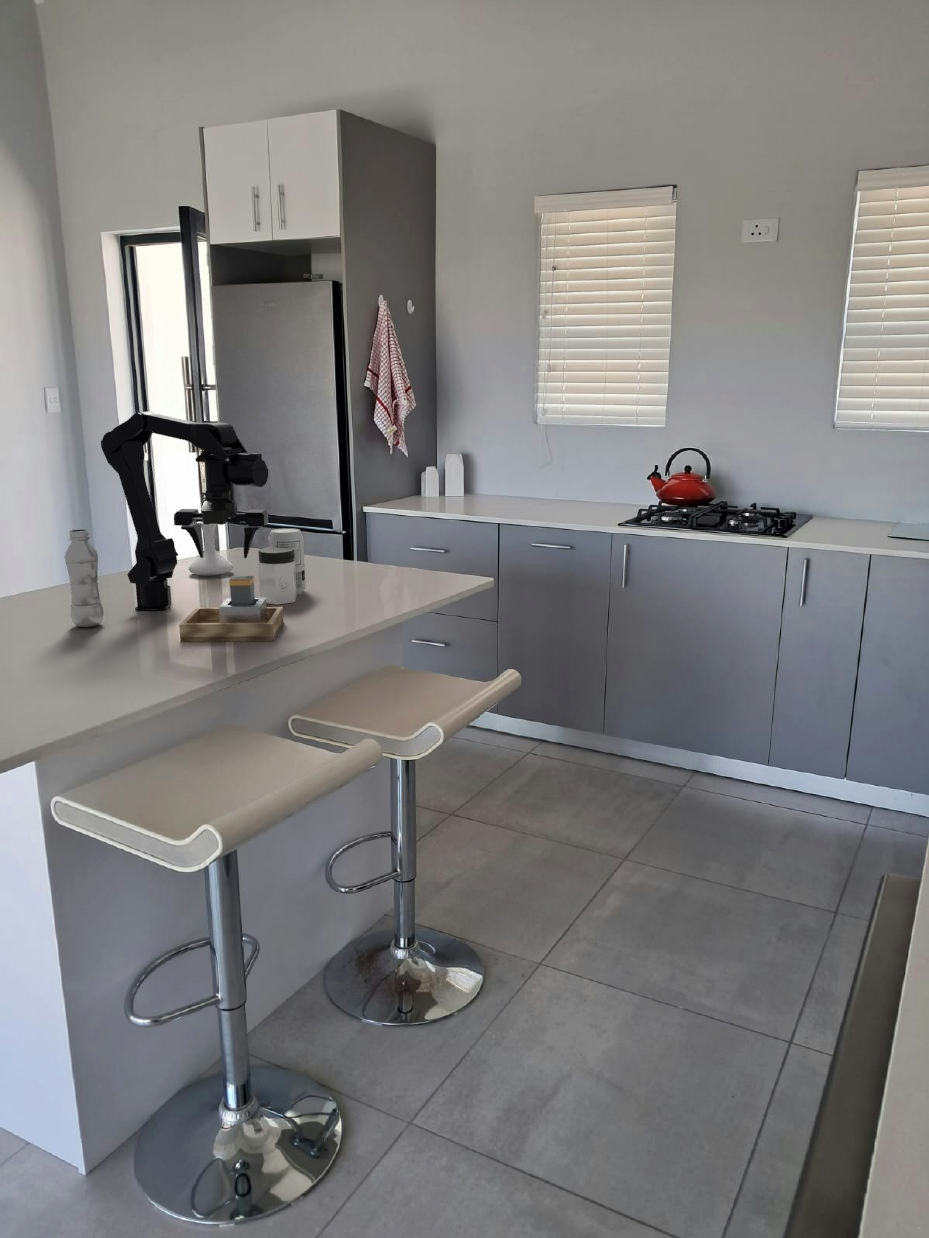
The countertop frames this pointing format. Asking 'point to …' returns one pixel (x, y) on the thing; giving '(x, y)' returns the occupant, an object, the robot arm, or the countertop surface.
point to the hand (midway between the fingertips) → (223, 557)
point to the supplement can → (295, 541)
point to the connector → (242, 590)
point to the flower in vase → (210, 556)
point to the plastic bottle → (83, 580)
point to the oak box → (228, 627)
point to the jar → (277, 575)
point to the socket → (243, 612)
